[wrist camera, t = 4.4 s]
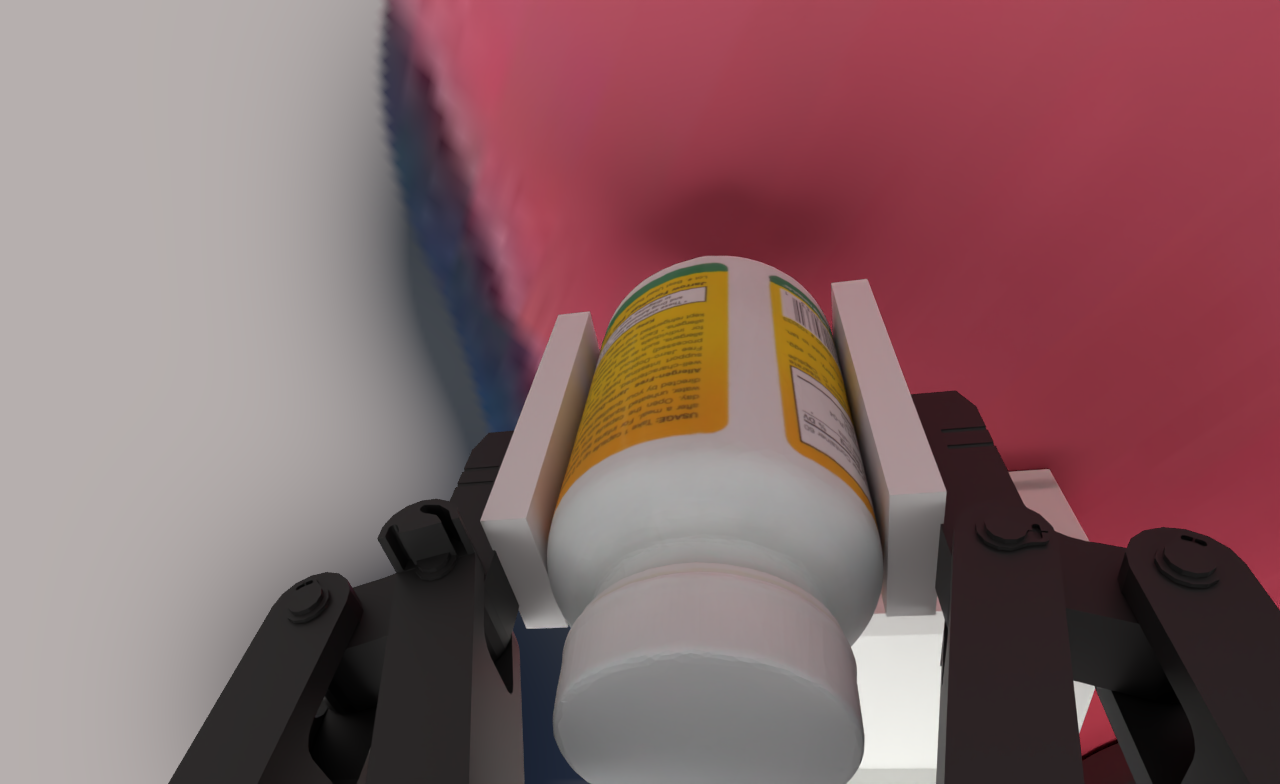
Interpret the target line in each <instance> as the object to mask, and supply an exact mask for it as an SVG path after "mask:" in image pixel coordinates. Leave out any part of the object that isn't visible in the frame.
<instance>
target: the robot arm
mask: <svg viewBox="0 0 1280 784" xmlns="http://www.w3.org/2000/svg"><path fill="white" fill-rule="evenodd" d="M831 297H832V331H833V339H834V342H835V346H836V350H837V354H838V359H839V363H840V367H841V371H842V375H843V380H844V384H845V389H846V394H847V399H848V403H849V407H850V411H851V416H852V420H853V424H854V428H855V433H856V437H857V440H858V444H859V449H860V453H861V457H862V461H863V465H864V469H865V474H866V477H867V481H868V486H869V491H870V495H871V499H872V503H873V507H874V511H875V517H876V522H877V526H878V531H879V535H880V541H881V546H882V551H883V569H884V573H883V582H882V589H881V595H882V600H883V604H884V609H885V613H886V617H894V616H924V615H936V604H937V596H938V599H939V603H940V606H941V609H942V612H943V616H944V619H945V621H944V631H943V641H942V650H941V660H940V666H941V687H940V708H939V729H938V750H937V770H936V784H1280V610H1279V609H1278V607H1277V606H1276V605H1275V603H1274V602H1273V601H1272V599H1271V598H1270V596H1269V595H1268V594H1267V592H1266V591H1265V590H1264V588H1263V587H1262V585H1261V584H1260V583H1259V581H1258V580H1257V578H1256V577H1255V576H1254V574H1253V573H1252V572H1251V570H1250V569H1249V567H1248V566H1247V565H1246V563H1244V562H1243V561H1242V560H1241V559H1240V558H1239V557H1238V556H1237V555H1236V554H1235V553H1234V552H1233V551H1232V550H1231V549H1230V548H1228V547H1226V546H1225V545H1223V544H1221V543H1219V542H1218V541H1216V540H1214V539H1212V538H1210V537H1208V536H1205V535H1202V534H1199V533H1195V532H1192V531H1189V530H1186V529H1176V528H1165V527H1161V528H1156V529H1150V530H1144V531H1142V532H1141V533H1139V534H1138V535H1136V536H1134V537H1133V538H1131V539H1130V542H1129V544H1128V547H1127V548H1123V547H1117V546H1112V545H1106V544H1100V543H1095V542H1089V541H1084V540H1080V539H1076V538H1072V537H1069V536H1066V535H1064V534H1061V533H1059V532H1057V531H1054V528H1053V526H1052V525H1051V524H1050V523H1049V522H1048V521H1047V520H1046V519H1045V518H1044V517H1042V516H1041V515H1040V514H1039V513H1037V512H1035V511H1033V510H1031V509H1029V508H1027V507H1026V506H1025V505H1024V503H1023V501H1022V499H1021V497H1020V495H1019V493H1018V491H1017V489H1016V487H1015V485H1014V483H1013V481H1012V479H1011V477H1010V475H1009V472H1008V470H1007V468H1006V466H1005V464H1004V462H1003V460H1002V458H1001V456H1000V454H999V452H998V450H997V448H996V446H994V444H993V440H992V438H991V436H990V434H989V432H988V430H986V426H985V424H984V422H983V419H982V417H981V415H980V413H979V411H978V409H977V407H976V406H975V405H974V404H972V403H971V402H970V401H968V400H967V399H966V398H965V397H963V396H962V395H961V394H959V393H958V392H957V391H945V392H934V393H922V394H911V395H910V392H909V389H908V386H907V384H906V381H905V378H904V376H903V373H902V370H901V368H900V365H899V362H898V360H897V357H896V354H895V352H894V349H893V346H892V344H891V341H890V338H889V336H888V333H887V330H886V327H885V325H884V322H883V319H882V317H881V314H880V311H879V309H878V306H877V303H876V301H875V298H874V295H873V293H872V290H871V287H870V285H869V282H868V279H861V280H853V281H844V282H836V283H831ZM599 355H600V349H599V345H598V341H597V337H596V333H595V329H594V325H593V321H592V318H591V314H590V311H588V312H579V313H571V314H562V315H558V317H557V320H556V323H555V325H554V328H553V331H552V333H551V336H550V338H549V341H548V344H547V346H546V349H545V352H544V354H543V357H542V359H541V362H540V365H539V367H538V370H537V373H536V375H535V378H534V380H533V383H532V386H531V388H530V391H529V394H528V396H527V399H526V401H525V404H524V407H523V409H522V412H521V415H520V417H519V420H518V422H517V425H516V428H515V430H514V431H506V432H495V433H488V434H487V435H486V436H485V438H484V439H483V440H482V441H481V442H480V443H479V444H478V445H477V446H476V447H475V448H474V449H473V450H472V452H471V454H470V456H469V459H468V461H467V463H466V465H465V468H464V470H465V471H464V472H462V475H461V477H460V479H459V481H458V487H456V488H455V490H454V493H453V495H452V497H451V499H450V501H445V500H440V499H431V500H424V501H420V502H417V503H415V504H412V505H409V506H407V507H405V508H404V509H402V510H401V511H399V512H398V513H396V514H395V515H393V516H392V517H391V518H390V520H389V521H388V522H387V523H386V524H385V525H384V526H383V527H382V530H381V532H380V534H379V536H378V541H379V542H380V544H381V546H382V548H383V550H384V552H385V553H386V555H387V557H388V559H389V560H390V562H391V564H392V566H393V567H394V569H395V571H396V573H395V574H393V575H390V576H388V577H385V578H382V579H379V580H376V581H373V582H370V583H366V584H363V585H360V586H357V587H354V588H352V586H351V585H350V583H349V582H348V580H347V579H346V578H344V577H343V576H342V575H340V574H338V573H328V572H325V573H321V574H317V575H313V576H310V577H308V578H306V579H304V580H302V581H300V582H298V583H296V584H295V585H294V586H292V587H291V588H290V589H288V590H287V591H286V592H285V593H283V594H282V596H281V597H280V598H279V599H278V600H277V602H276V603H275V604H274V605H273V607H272V608H271V610H270V612H269V614H268V615H267V617H266V619H265V620H264V622H263V624H262V625H261V627H260V629H259V631H258V632H257V634H256V636H255V637H254V639H253V641H252V642H251V644H250V646H249V647H248V649H247V651H246V653H245V654H244V656H243V658H242V660H241V661H240V663H239V665H238V666H237V668H236V670H235V671H234V673H233V675H232V677H231V678H230V680H229V682H228V683H227V685H226V687H225V688H224V690H223V692H222V693H221V695H220V697H219V698H218V700H217V702H216V704H215V705H214V707H213V709H212V710H211V712H210V714H209V715H208V717H207V719H206V720H205V722H204V724H203V726H202V727H201V729H200V731H199V733H198V734H197V736H196V737H195V739H194V741H193V743H192V744H191V746H190V748H189V749H188V751H187V753H186V754H185V756H184V758H183V760H182V761H181V763H180V765H179V766H178V768H177V770H176V771H175V773H174V775H173V777H172V778H171V780H170V782H169V783H168V784H524V758H523V732H522V706H521V682H520V681H521V680H520V654H519V646H518V643H517V639H516V637H515V635H514V632H513V627H514V623H515V620H516V616H517V613H518V609H519V612H520V614H521V616H522V618H523V621H524V623H525V625H526V628H527V629H530V628H561V627H568V622H567V621H566V619H565V618H564V617H563V615H562V613H561V611H560V609H559V607H558V605H557V603H556V601H555V598H554V595H553V592H552V589H551V585H550V581H549V577H548V569H547V547H548V537H549V532H550V528H551V524H552V520H553V515H554V511H555V508H556V504H557V501H558V498H559V494H560V491H561V487H562V484H563V481H564V478H565V474H566V471H567V467H568V464H569V461H570V456H571V453H572V450H573V447H574V443H575V439H576V436H577V432H578V429H579V425H580V422H581V419H582V415H583V412H584V408H585V404H586V401H587V397H588V394H589V390H590V387H591V383H592V380H593V376H594V372H595V369H596V365H597V362H598V358H599ZM1073 681H1077V682H1081V683H1085V684H1088V685H1092V686H1095V689H1096V691H1097V693H1098V696H1099V698H1100V700H1101V703H1102V705H1103V707H1104V710H1105V712H1106V714H1107V717H1108V719H1109V722H1110V724H1111V726H1112V729H1113V731H1114V733H1115V736H1116V738H1117V740H1118V743H1117V744H1115V745H1112V746H1110V747H1108V748H1105V749H1103V750H1101V751H1099V752H1097V753H1095V754H1093V755H1091V756H1090V757H1088V758H1086V759H1085V760H1083V761H1082V755H1081V746H1080V737H1079V728H1078V719H1077V709H1076V700H1075V691H1074V682H1073Z"/></svg>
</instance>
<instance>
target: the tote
mask: <svg viewBox="0 0 1280 784" xmlns="http://www.w3.org/2000/svg"><path fill="white" fill-rule="evenodd" d="M1009 475H1010V477H1011V479H1012V481H1013V483H1014V485H1015V487H1016V489H1017V491H1018V493H1019V495H1020V497H1021V499H1022V501H1023V503H1024V505H1025V506H1026V507H1027V508H1029V509H1031V510H1033V511H1035V512H1037V513H1039V514H1040V515H1041V516H1042V517H1044V518H1045V519H1046V520H1047V521H1048V522H1049V523H1050V524H1051V525H1052V526H1053V528H1054V531H1057V532H1059V533H1061V534H1064V535H1066V536H1069V537H1072V538H1076V539H1080V540H1084V541H1089V540H1088V538H1087V536H1086V534H1085V532H1084V531H1083V529H1082V527H1081V525H1080V523H1079V522H1078V520H1077V518H1076V516H1075V514H1074V513H1073V511H1072V509H1071V507H1070V505H1069V504H1068V502H1067V500H1066V498H1065V496H1064V495H1063V493H1062V491H1061V489H1060V487H1059V486H1058V484H1057V482H1056V480H1055V478H1054V477H1053V475H1052V473H1051V471H1050V469H1041V470H1026V471H1012V472H1009ZM1089 542H1090V541H1089ZM944 621H945V619H944V616H943V612H942V609H941V606H940V603H939V599H938V596H937V604H936V615H924V616H894V617H886V613H885V609H884V604H883V600H882V595H881V594H880V597H879V601H878V604H877V607H876V610H875V612H874V614H873V616H872V618H871V620H870V622H869V624H868V625H867V627H866V629H865V630H864V631H863V633H862V634H861V635H860V637H859V638H858V639H857V641H856V642H855V643H854V644H853V645H852V646H851V648H852V651H853V654H854V656H855V660H856V664H857V685H858V692H859V699H860V706H861V713H862V720H863V727H864V734H865V743H864V754H863V758H862V761H861V764H860V766H859V768H858V770H857V772H856V773H855V774H854V776H853V777H852V778H851V779H850V781H849V782H847V783H846V784H936V770H937V750H938V729H939V708H940V687H941V666H940V660H941V650H942V641H943V631H944ZM1073 682H1074V691H1075V700H1076V709H1077V719H1078V728H1079V733H1080V730H1081V727H1082V724H1083V721H1084V718H1085V716H1086V713H1087V710H1088V707H1089V704H1090V701H1091V699H1092V696H1093V693H1094V690H1095V686H1092V685H1088V684H1085V683H1081V682H1077V681H1073Z"/></svg>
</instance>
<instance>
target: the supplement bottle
mask: <svg viewBox="0 0 1280 784" xmlns="http://www.w3.org/2000/svg"><path fill="white" fill-rule="evenodd" d="M547 569H548V577H549V581H550V585H551V589H552V592H553V595H554V598H555V601H556V603H557V605H558V607H559V609H560V611H561V613H562V615H563V617H564V618H565V619H566V621H567V622H568V624H569V625H570V627H571V629H570V631H569V633H568V636H567V638H566V641H565V644H564V649H563V657H562V667H561V672H560V677H559V682H558V687H557V693H556V700H555V707H554V712H553V728H554V737H555V740H556V742H557V744H558V747H559V749H560V751H561V753H562V755H563V756H564V758H565V759H566V760H567V762H568V763H569V765H570V766H571V767H572V768H573V770H574V771H575V772H577V773H578V774H579V775H580V776H581V777H582V778H584V779H585V780H586V781H587V782H589V783H591V784H846V783H847V782H849V781H850V779H851V778H852V777H853V776H854V774H855V773H856V772H857V770H858V768H859V766H860V764H861V761H862V758H863V754H864V743H865V734H864V727H863V720H862V713H861V706H860V699H859V692H858V685H857V664H856V660H855V656H854V654H853V651H852V648H851V646H852V645H853V644H854V643H855V642H856V641H857V639H858V638H859V637H860V635H861V634H862V633H863V631H864V630H865V629H866V627H867V625H868V624H869V622H870V620H871V618H872V616H873V614H874V612H875V610H876V607H877V604H878V601H879V597H880V594H881V589H882V582H883V573H884V569H883V551H882V546H881V541H880V535H879V531H878V526H877V522H876V517H875V511H874V507H873V503H872V499H871V495H870V491H869V486H868V481H867V477H866V474H865V469H864V465H863V461H862V457H861V453H860V449H859V444H858V440H857V437H856V433H855V428H854V424H853V420H852V416H851V411H850V407H849V403H848V399H847V394H846V389H845V384H844V380H843V375H842V371H841V367H840V363H839V359H838V354H837V350H836V346H835V342H834V339H833V335H832V332H831V329H830V326H829V324H828V321H827V319H826V317H825V315H824V313H823V311H822V310H821V308H820V307H819V305H818V303H817V302H816V300H815V299H814V298H813V297H812V296H811V294H810V293H809V292H808V291H807V290H806V289H805V288H804V287H803V286H802V285H801V284H800V283H798V282H797V281H796V280H795V279H793V278H792V277H791V276H789V275H787V274H785V273H784V272H782V271H780V270H778V269H776V268H774V267H772V266H770V265H767V264H765V263H762V262H759V261H755V260H752V259H748V258H743V257H736V256H702V257H698V258H694V259H691V260H687V261H684V262H681V263H677V264H674V265H672V266H670V267H668V268H665V269H663V270H661V271H659V272H657V273H655V274H654V275H652V276H650V277H648V278H647V279H645V280H644V281H643V282H641V283H640V284H639V285H637V286H636V287H635V288H634V289H633V290H632V291H631V292H630V293H629V294H628V295H627V296H626V297H625V299H624V300H623V301H622V302H621V304H620V305H619V306H618V308H617V309H616V311H615V313H614V315H613V317H612V319H611V321H610V323H609V325H608V328H607V331H606V334H605V337H604V340H603V342H602V347H601V351H600V355H599V358H598V362H597V365H596V369H595V372H594V376H593V380H592V383H591V387H590V390H589V394H588V397H587V401H586V404H585V408H584V412H583V415H582V419H581V422H580V425H579V429H578V432H577V436H576V439H575V443H574V447H573V450H572V453H571V456H570V461H569V464H568V467H567V471H566V474H565V478H564V481H563V484H562V487H561V491H560V494H559V498H558V501H557V504H556V508H555V511H554V515H553V520H552V524H551V528H550V532H549V537H548V547H547Z"/></svg>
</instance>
